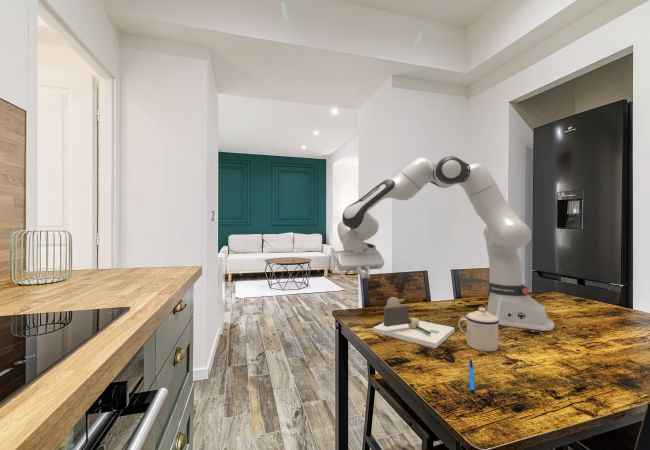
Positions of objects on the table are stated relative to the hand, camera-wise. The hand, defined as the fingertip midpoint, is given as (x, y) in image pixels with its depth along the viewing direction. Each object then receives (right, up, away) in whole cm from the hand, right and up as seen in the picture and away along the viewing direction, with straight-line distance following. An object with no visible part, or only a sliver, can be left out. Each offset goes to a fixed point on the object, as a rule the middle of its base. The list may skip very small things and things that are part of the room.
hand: (366, 277), depth 121 cm
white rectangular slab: (+15, -17, -14) cm, 26 cm away
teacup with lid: (+31, -17, -25) cm, 44 cm away
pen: (+20, -17, -45) cm, 52 cm away
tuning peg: (+11, -15, -19) cm, 26 cm away
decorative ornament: (+14, -17, +15) cm, 27 cm away
